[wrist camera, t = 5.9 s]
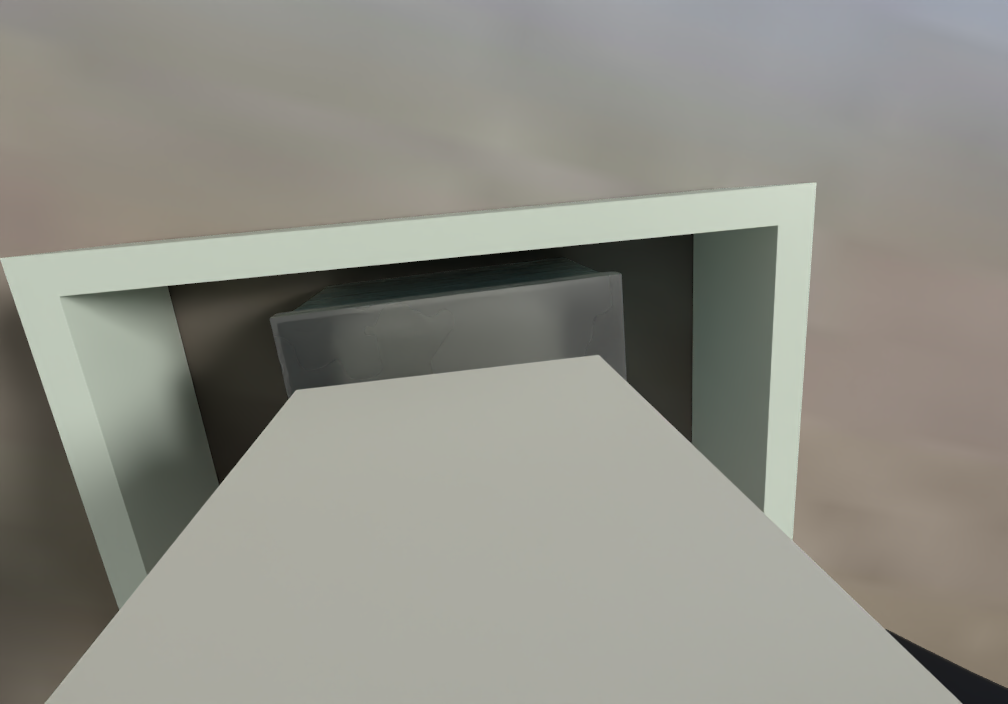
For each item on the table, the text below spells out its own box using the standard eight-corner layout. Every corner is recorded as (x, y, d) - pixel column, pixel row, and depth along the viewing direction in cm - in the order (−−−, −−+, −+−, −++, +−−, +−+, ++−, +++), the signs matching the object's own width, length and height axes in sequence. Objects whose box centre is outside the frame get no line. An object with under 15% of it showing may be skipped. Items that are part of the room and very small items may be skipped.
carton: (608, 602, 10) (995, 1524, 3) (347, 642, 10) (91, 1807, 3) (598, 354, 9) (1231, 962, 2) (296, 390, 9) (-487, 1362, 1)
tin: (581, 464, 17) (635, 566, 12) (368, 497, 17) (338, 616, 12) (565, 252, 15) (621, 274, 10) (325, 281, 15) (269, 318, 10)
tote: (708, 793, 21) (766, 921, 17) (295, 870, 20) (260, 1028, 16) (721, 188, 15) (816, 182, 11) (123, 243, 14) (0, 258, 10)
